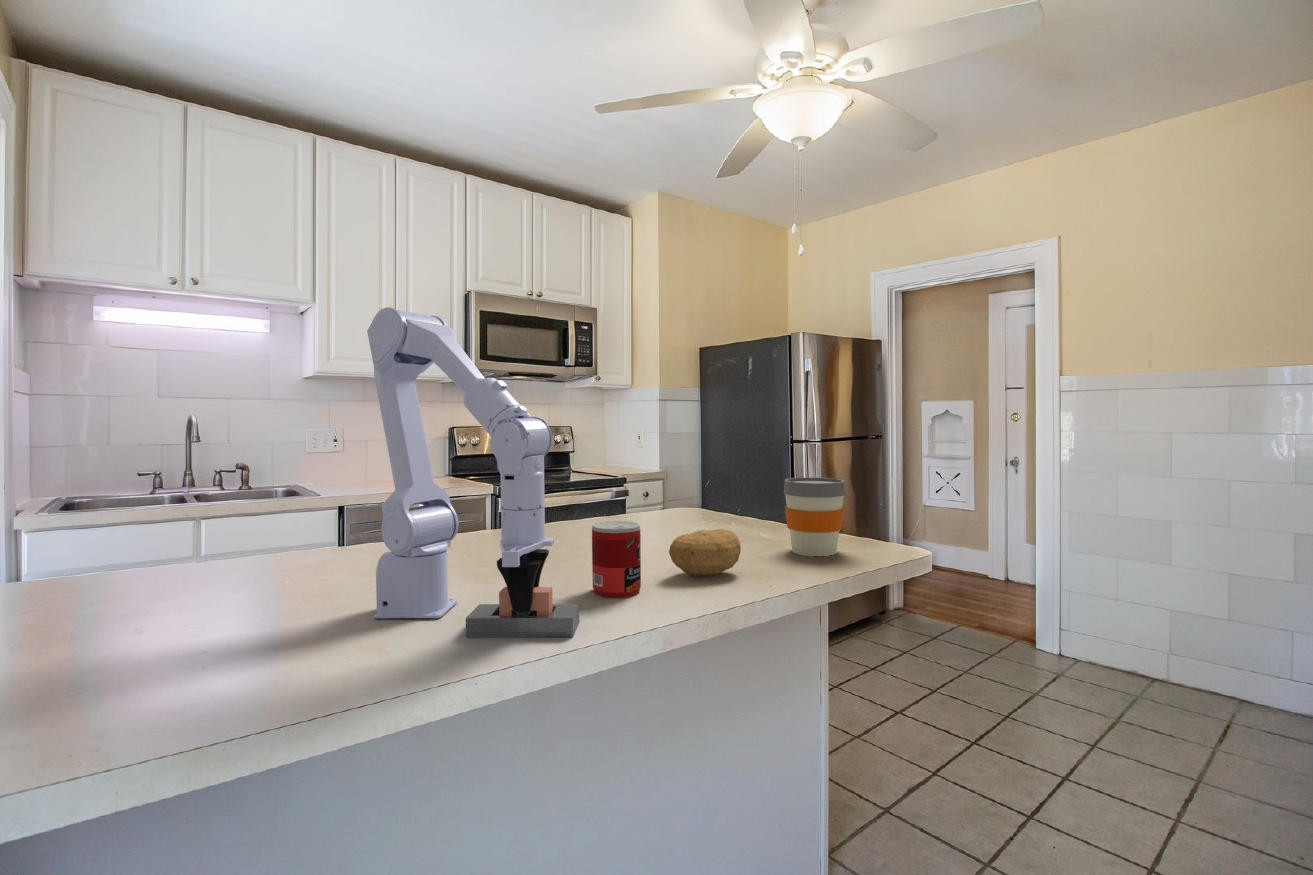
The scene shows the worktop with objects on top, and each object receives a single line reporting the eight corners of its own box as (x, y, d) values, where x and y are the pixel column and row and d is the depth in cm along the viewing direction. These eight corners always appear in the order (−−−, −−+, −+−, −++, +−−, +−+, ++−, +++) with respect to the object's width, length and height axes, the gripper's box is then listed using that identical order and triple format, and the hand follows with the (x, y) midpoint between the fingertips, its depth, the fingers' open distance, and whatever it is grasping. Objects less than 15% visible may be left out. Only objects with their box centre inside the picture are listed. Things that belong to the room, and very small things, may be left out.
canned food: (635, 599, 97) (634, 529, 97) (586, 596, 99) (585, 528, 98) (645, 586, 105) (645, 521, 104) (600, 584, 106) (599, 520, 106)
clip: (499, 632, 83) (499, 592, 82) (504, 626, 85) (504, 587, 85) (549, 632, 82) (548, 592, 82) (552, 626, 85) (552, 586, 85)
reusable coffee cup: (858, 553, 128) (858, 481, 127) (815, 561, 121) (815, 485, 121) (813, 543, 139) (813, 476, 138) (771, 550, 132) (771, 479, 131)
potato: (657, 574, 112) (657, 530, 112) (721, 565, 119) (721, 523, 119) (685, 587, 104) (685, 539, 103) (753, 576, 110) (753, 531, 110)
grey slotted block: (465, 637, 81) (465, 618, 81) (479, 621, 87) (479, 604, 87) (573, 637, 81) (572, 617, 81) (579, 621, 87) (579, 603, 87)
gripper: (541, 515, 76) (543, 625, 76) (561, 499, 90) (563, 592, 91) (484, 516, 76) (486, 625, 77) (513, 500, 91) (515, 592, 91)
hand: (524, 607), depth 84 cm, fingers closed on clip, 3 cm apart
